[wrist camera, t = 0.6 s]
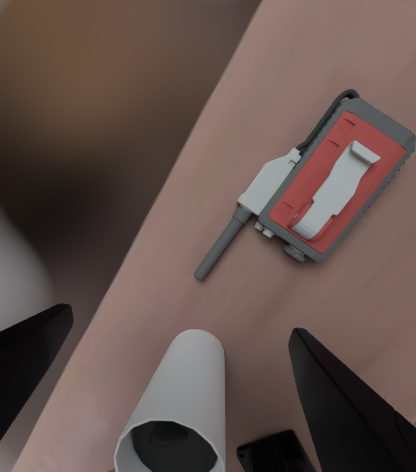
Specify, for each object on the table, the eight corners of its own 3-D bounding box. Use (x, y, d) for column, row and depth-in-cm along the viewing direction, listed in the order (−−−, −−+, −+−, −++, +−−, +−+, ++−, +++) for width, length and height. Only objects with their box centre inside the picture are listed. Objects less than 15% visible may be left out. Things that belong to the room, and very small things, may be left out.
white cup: (154, 363, 23) (95, 478, 13) (183, 312, 22) (143, 395, 12) (209, 396, 23) (191, 538, 13) (241, 346, 22) (248, 459, 12)
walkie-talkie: (319, 83, 19) (189, 268, 22) (345, 45, 14) (179, 282, 18) (406, 141, 18) (262, 319, 22) (459, 120, 14) (269, 347, 17)
